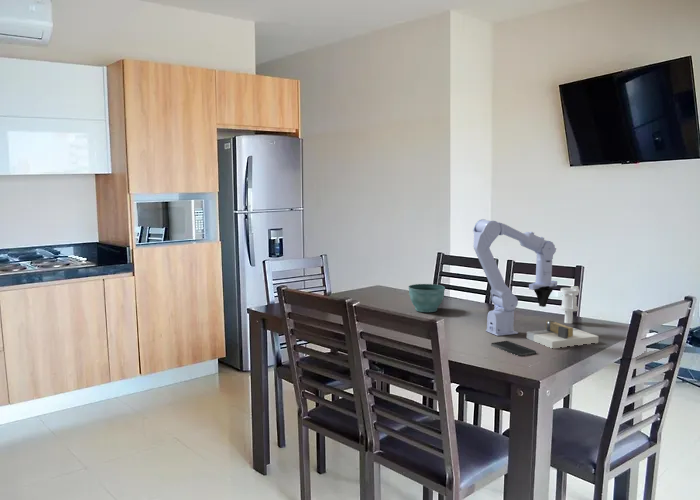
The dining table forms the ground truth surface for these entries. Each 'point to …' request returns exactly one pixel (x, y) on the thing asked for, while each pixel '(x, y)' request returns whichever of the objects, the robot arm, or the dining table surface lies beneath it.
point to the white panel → (561, 337)
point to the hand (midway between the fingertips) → (542, 306)
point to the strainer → (569, 302)
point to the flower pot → (426, 296)
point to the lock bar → (554, 327)
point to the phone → (513, 348)
